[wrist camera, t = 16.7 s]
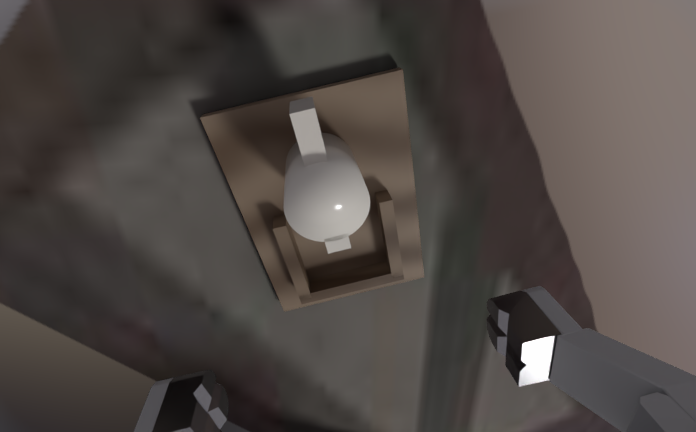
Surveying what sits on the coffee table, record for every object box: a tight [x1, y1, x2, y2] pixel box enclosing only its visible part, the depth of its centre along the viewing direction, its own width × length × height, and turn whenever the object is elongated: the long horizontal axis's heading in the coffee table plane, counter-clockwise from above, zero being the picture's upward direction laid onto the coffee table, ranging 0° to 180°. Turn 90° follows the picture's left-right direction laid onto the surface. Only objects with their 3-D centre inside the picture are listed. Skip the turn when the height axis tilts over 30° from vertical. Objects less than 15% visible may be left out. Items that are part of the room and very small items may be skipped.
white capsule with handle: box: [284, 97, 370, 254], centre depth 26 cm, size 10×6×7 cm, turn 11°
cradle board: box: [200, 68, 424, 312], centre depth 32 cm, size 22×16×3 cm
